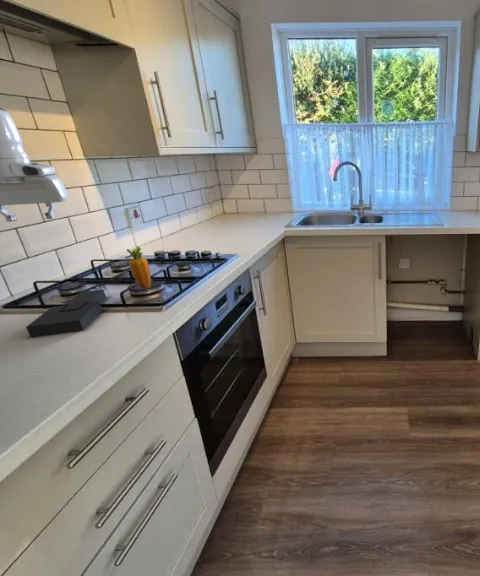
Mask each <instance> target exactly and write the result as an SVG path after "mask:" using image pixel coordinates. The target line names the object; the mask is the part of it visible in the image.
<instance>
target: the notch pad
mask: <svg viewBox="0 0 480 576" xmlns="http://www.w3.org/2000/svg"><path fill="white" fill-rule="evenodd" d="M65 307H66V306H65V305H58V306H57V305H56V306H51V307H50V308H49V309H47V310H46V311H45V312H43V313H42V314H41V315H39V316H38V317H37V318H36V319H34V320H33V321H32V322H31V323H29V324H28V325H26V327H25V329H26V330H27V332H28V334H29V336H30V338H34V337H42V336H48V335H57V334H65V333H72V332H80V331H85V329H86V328H87V327H88V326H90V324H92V322H93V321H94V320H95V319H96V318H97V317H98V316H99V315H100V314H101V313H102V312H103V311H104V310H103V308H102V305H101V304H100V302H91V303H86V304H85V305H84V306H83V307H82V308H80V309H79V310H72V311H64V312H62V310H63V309H64V308H65Z"/></svg>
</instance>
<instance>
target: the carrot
mask: <svg viewBox="0 0 480 576" xmlns="http://www.w3.org/2000/svg"><path fill="white" fill-rule="evenodd" d="M141 249H142V247H140V246H137V247H136V248H134V249H132V251H131V250H130V249H129V248H127V249H126V251H127V252H128V254H130V256H131V257H133V258H132V259H130V260H129V261H128V265H129V268H130V271H131V273H132V275H133V277H134V279H135V281H136V282H137V284H138V285H139V286H140V288H141V289H143V288H149V287H150V288H151V283H152V277H151V269H150V265H149V262H148V260H147V258H145V257H143V256H142V255H143V252H141ZM150 288H149V289H146V290H144V291H145V292H149V291H150Z"/></svg>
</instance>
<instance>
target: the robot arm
mask: <svg viewBox="0 0 480 576" xmlns="http://www.w3.org/2000/svg"><path fill="white" fill-rule="evenodd" d="M68 198H69V195H68V191H67V189H66V188H65V185H64V183H63V181H62V180H61V178H60V177H59V176H57V175H56V168H55V167H54V166H52V165H48V164H43V163H39V162H34V161H31V160H30V157H29V155H28V153H26V151H25V149H24V146H23V139H22V136H21V134H20V132H19V129H18V127H17V125H16V124H15V121H14V119H13V118H12V116H11V114H10V113H9V112H8V111H6V110H5V109H4V108H2V107H0V215H2V216H4V218H5V221H6V222H8V223H9V222H16V221H17V220H18V219H17V217H16V214H15V213H14V214H13V213H12V214H11V213H10V212H9V211H8V210H7V209H8V206H16V205H34V204H35V205H36V204H45V207H46V208H48V209H47V212H44V216H45V219H46V220H51V219H52V220H53V219H56V214H55V210H56V207H57V204H56V203H63V202H66V201H67V200H68Z"/></svg>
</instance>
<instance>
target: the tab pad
mask: <svg viewBox="0 0 480 576" xmlns="http://www.w3.org/2000/svg"><path fill="white" fill-rule="evenodd" d="M106 299H107V296H106V293H105V289H104V288H102V289H94V290H85V291H80V292H79V293H78V294H76V295H75V296H74V297H73V298H72V299H70V300H69V301H68V302H67V303H65V304H64V306H66V307H65V308H64V309H63V310H62V312H64V311H72V310H79V309H80V308H82V307H83V306H84V305H85V304H86V303H91V302H100V305H101V304H102V303H103V302H104V301H105V300H106Z"/></svg>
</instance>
